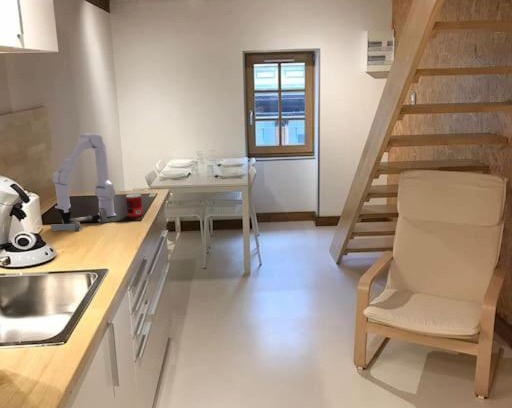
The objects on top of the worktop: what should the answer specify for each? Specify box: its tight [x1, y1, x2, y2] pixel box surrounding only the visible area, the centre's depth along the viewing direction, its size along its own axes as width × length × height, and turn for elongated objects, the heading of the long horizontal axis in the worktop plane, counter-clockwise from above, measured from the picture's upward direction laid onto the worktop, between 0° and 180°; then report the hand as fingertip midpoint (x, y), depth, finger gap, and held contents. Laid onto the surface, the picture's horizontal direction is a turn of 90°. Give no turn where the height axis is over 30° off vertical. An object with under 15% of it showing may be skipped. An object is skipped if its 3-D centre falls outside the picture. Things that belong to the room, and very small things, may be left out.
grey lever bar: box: [50, 222, 81, 232], centre depth 248 cm, size 14×2×3 cm, turn 90°
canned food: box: [125, 193, 144, 218], centre depth 271 cm, size 8×8×11 cm
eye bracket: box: [97, 207, 111, 224], centre depth 262 cm, size 6×5×6 cm
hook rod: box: [61, 215, 93, 224], centre depth 257 cm, size 4×14×4 cm, turn 117°
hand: (66, 223), depth 255 cm, fingers closed on hook rod, 4 cm apart
